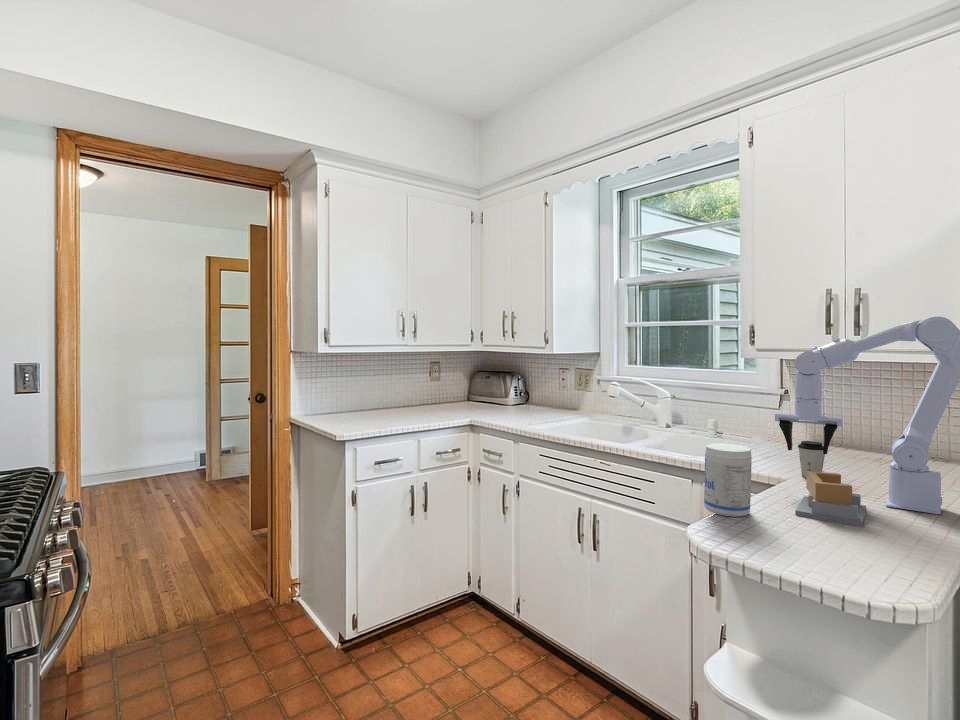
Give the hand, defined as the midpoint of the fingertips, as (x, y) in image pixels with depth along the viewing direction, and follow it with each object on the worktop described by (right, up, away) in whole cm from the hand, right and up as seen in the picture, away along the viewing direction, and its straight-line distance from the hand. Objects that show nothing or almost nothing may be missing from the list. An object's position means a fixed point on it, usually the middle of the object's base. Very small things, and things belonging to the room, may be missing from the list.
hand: (807, 451), depth 132 cm
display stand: (-5, -11, -16) cm, 20 cm away
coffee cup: (+11, -10, +15) cm, 21 cm away
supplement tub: (-28, -11, -15) cm, 33 cm away
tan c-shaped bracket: (-5, -7, -15) cm, 17 cm away
